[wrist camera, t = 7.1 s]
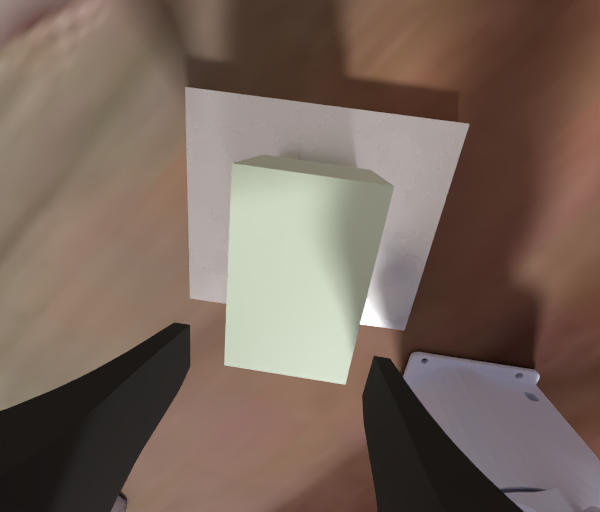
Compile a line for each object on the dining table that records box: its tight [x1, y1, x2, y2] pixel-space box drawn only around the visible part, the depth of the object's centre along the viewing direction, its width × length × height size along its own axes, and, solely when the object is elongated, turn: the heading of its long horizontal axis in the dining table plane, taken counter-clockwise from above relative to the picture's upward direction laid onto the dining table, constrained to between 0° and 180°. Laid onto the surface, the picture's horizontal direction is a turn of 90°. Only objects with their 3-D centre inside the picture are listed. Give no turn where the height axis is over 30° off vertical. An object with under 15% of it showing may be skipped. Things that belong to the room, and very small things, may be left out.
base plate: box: [185, 87, 469, 331], centre depth 17 cm, size 15×13×4 cm
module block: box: [224, 155, 394, 384], centre depth 13 cm, size 5×8×5 cm, turn 173°
